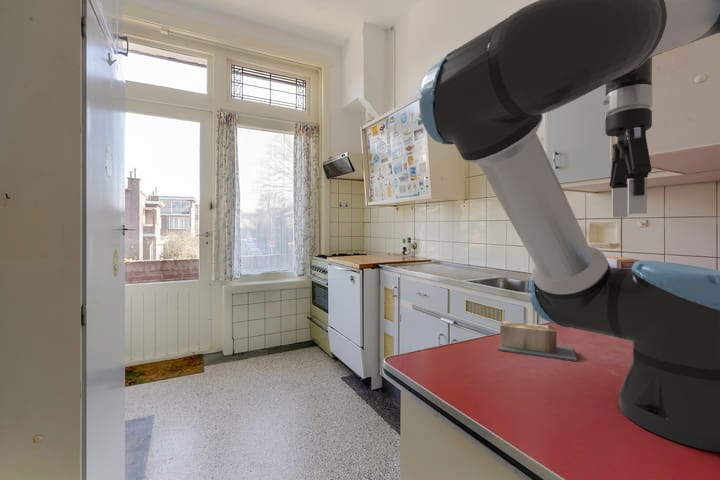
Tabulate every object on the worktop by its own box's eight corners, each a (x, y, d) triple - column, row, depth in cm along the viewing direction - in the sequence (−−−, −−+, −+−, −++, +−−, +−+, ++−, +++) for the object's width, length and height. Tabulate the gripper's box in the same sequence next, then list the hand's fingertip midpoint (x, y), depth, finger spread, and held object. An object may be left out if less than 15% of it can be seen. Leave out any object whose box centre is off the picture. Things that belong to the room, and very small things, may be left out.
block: (501, 321, 86) (554, 326, 81) (501, 340, 87) (554, 346, 81) (500, 325, 82) (556, 331, 77) (500, 345, 82) (556, 353, 77)
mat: (576, 361, 73) (576, 359, 73) (498, 350, 80) (498, 348, 80) (572, 348, 81) (572, 346, 81) (500, 339, 88) (500, 338, 88)
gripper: (595, 132, 82) (595, 218, 82) (620, 94, 59) (619, 212, 60) (633, 127, 78) (633, 217, 79) (675, 85, 56) (674, 210, 56)
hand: (627, 215), depth 69 cm, fingers open, 13 cm apart
